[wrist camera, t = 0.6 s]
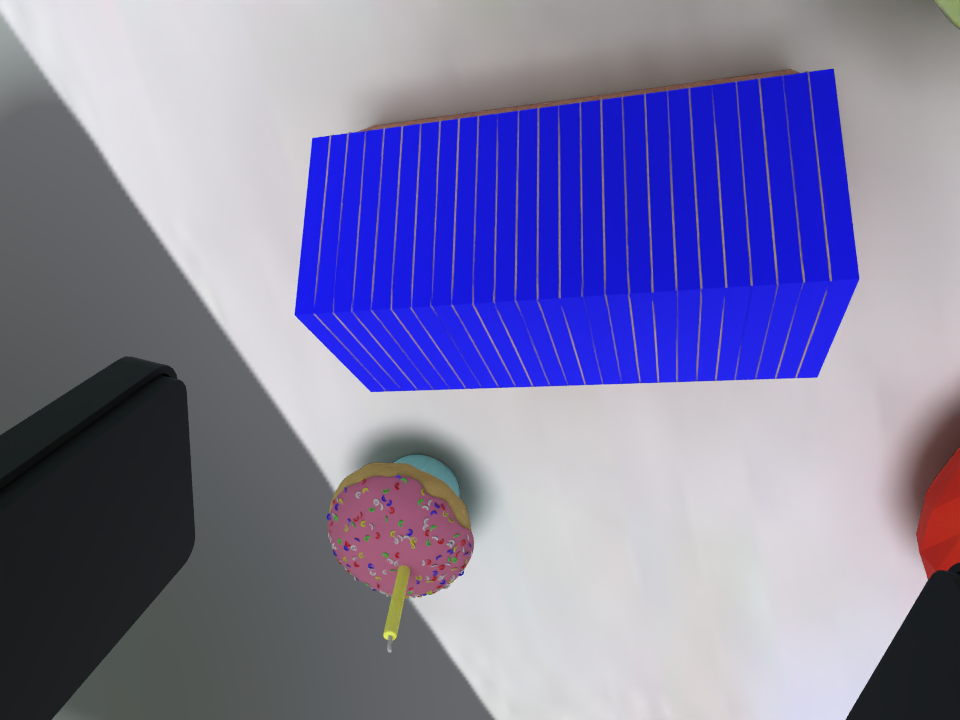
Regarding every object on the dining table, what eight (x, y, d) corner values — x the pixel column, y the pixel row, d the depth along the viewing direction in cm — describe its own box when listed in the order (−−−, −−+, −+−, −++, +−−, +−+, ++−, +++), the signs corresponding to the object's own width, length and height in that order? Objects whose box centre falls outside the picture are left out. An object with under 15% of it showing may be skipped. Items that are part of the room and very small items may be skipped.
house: (789, 318, 35) (847, 440, 25) (411, 338, 40) (329, 446, 30) (798, 59, 30) (874, 78, 20) (368, 119, 35) (252, 158, 25)
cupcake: (509, 466, 42) (462, 614, 32) (459, 561, 46) (403, 720, 36) (379, 405, 42) (290, 533, 32) (341, 505, 46) (250, 648, 36)
